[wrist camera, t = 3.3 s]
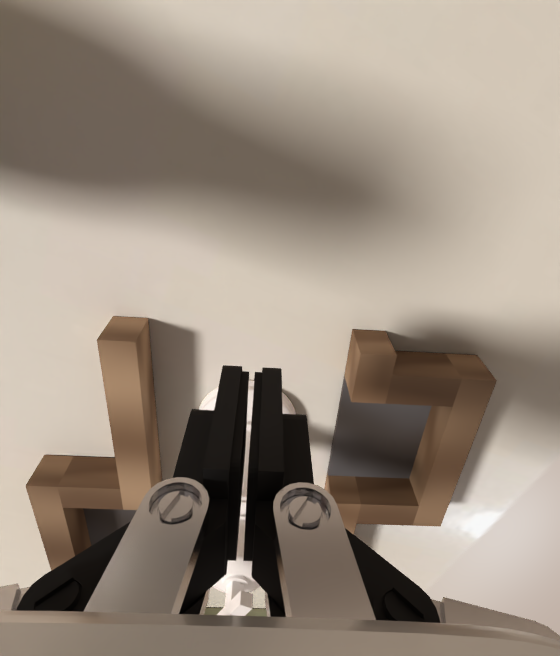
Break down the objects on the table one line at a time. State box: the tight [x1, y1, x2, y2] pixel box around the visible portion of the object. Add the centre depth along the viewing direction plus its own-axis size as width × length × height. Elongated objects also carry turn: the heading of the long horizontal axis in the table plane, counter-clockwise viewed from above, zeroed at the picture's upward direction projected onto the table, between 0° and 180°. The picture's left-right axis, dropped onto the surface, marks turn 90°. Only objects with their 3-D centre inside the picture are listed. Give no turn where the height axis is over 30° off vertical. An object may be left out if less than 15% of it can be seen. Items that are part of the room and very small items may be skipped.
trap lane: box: [26, 316, 496, 617], centre depth 24 cm, size 24×21×3 cm
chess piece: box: [199, 380, 296, 616], centre depth 17 cm, size 5×5×10 cm
